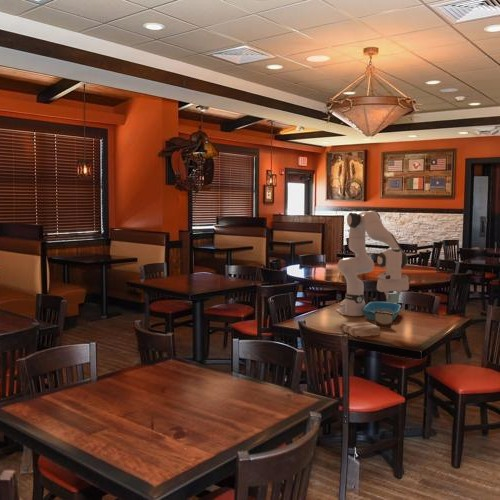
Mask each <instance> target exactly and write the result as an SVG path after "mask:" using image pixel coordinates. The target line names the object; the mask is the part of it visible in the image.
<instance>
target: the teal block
mask: <svg viewBox="0 0 500 500" xmlns="http://www.w3.org/2000/svg"><path fill="white" fill-rule="evenodd" d="M388 295H389V296H390V299H386V300H385V302H389V303H396V304H399V301H400V295H399V294H397V293H396V292H389V293H388Z"/></svg>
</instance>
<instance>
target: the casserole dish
mask: <svg viewBox="0 0 500 500" xmlns="http://www.w3.org/2000/svg"><path fill="white" fill-rule="evenodd" d="M401 307H402V305H401V304H399V303H389V302H387V301H369V302H368V303H367V304H365V307H364V308H363V310H364V313H365V315H364V316H365V318H366V320H369V321H375V322H376V319H375V314H374V312H375V311H376V310H389V311H392V312H393V313H394V316H393V320H392V322H394V320H396V318H397V317H398V315H399V313H400V310H401Z"/></svg>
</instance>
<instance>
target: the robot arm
mask: <svg viewBox="0 0 500 500" xmlns="http://www.w3.org/2000/svg"><path fill="white" fill-rule="evenodd" d="M346 222H347V226H348V227H349V232H348V233H349V234H348V248H349V250H350V251H351V252H352V253H354V257H343V258H341V259H339V260H338V262H337V269H338V271H339V272H340V273H341V274H342V275H343V276H344V278H345V281H346V293H345V297H344V299H343V300H342V301H341V302H339V303H340V304H339V308H336V312H338V313H339V314H340V315H341V316H349V317H351V316H352V317H363V316H365V313H364V310H363V308H364V307H365V306H366V302H365V294H364V289H365V288H364V286H365V285H364V282H363V280H361V279H360V278H358V276H357V275H358V274H367V273H368V274H369V273H371V272H372V271H373V270H374V268H375V262H374V260H373V259H372V257H371V256H369V254H368V253H367V249H366V247H367V246H366V239H367V238H366V236H368V237H369V238H370V239H371V240H374V241H377V242H382V243H384V244H386V245H387V246H388V248H387V250H385V251H383V252H380V253H378V255H377V257H376V263H377V265H378V266H379V267H380V268H382V269H385V272H382V273H380V274H378V276H377V278H378V279H377V282H376V291H378V292H380V293H384V295H385V299H386V300H387V299H390V296H389V295H388V293H390V292H397V293H396V294H399V296H400V295H401V293H402V292H404V291H409V289H410V283H409V276H408V275H407V274H402V269H403V268H405V267H406V266H407V265H408V262H409V258H408V255H407V253H406V252H405V251H404V250H403V249H402V247H401V246H400V244H399V243H398V241H397V239H396V238H395V236H394V234H393V233H392V232H390V231H389V230H388V229H387V228H386V227H385V226H384V224H383V222H382V219H381V216H380V214H379V212H377V211H374V210H369V211H367V210H366V211H365V210H363V211H352V212H349V214H347V217H346ZM366 234H367V235H366Z"/></svg>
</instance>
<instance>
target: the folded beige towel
mask: <svg viewBox="0 0 500 500" xmlns="http://www.w3.org/2000/svg"><path fill="white" fill-rule="evenodd" d="M341 331H342V332H344V331H345V332H344V333H346V332H347V333H346V334H348V335H351V336H353V337H355V338H357V336H360V337H369V336H371V335H372V336H380V333H381V327H378V326H376V324H373V323H371V322H369V321H366V320H363V321H348V322H342V323H341Z"/></svg>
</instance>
